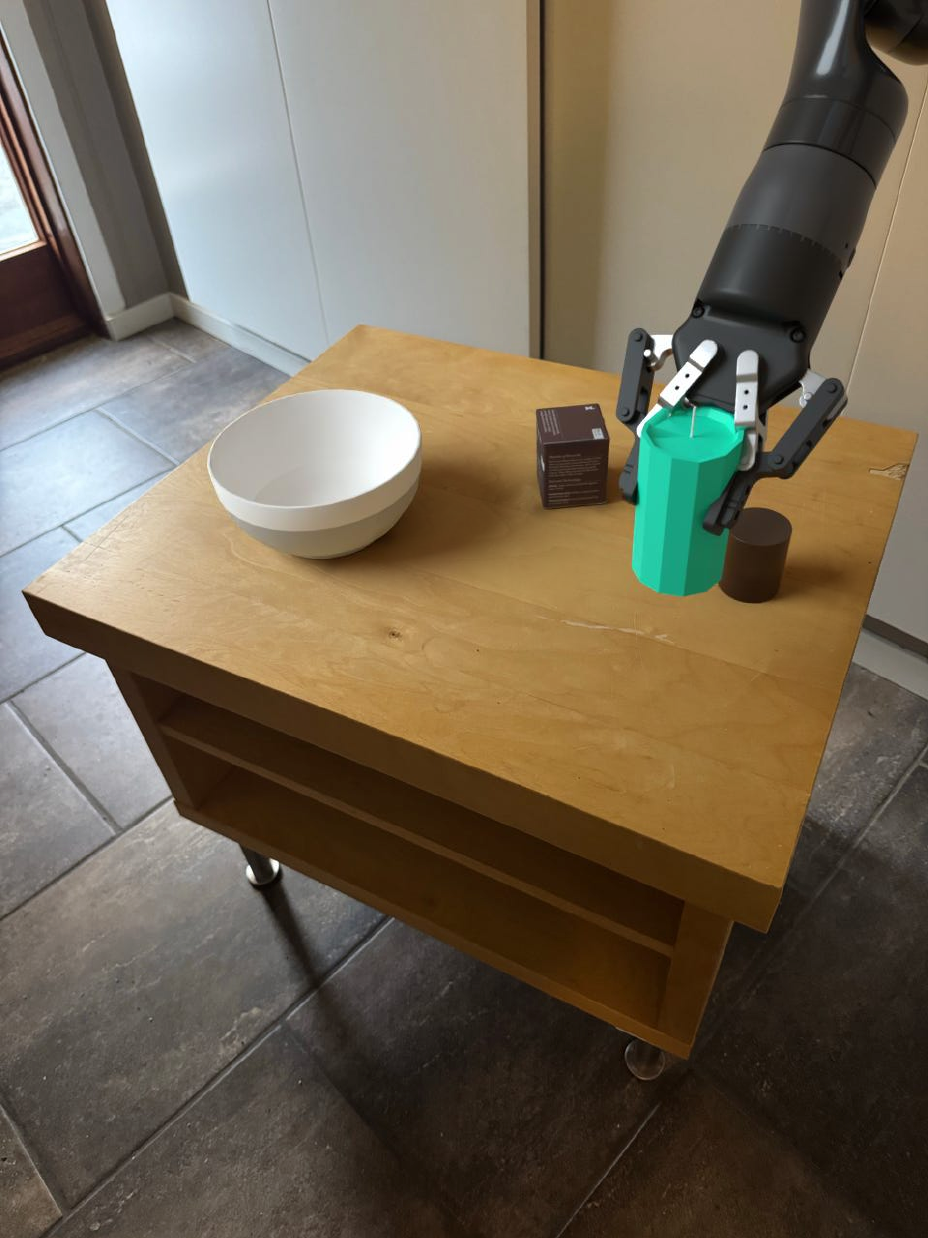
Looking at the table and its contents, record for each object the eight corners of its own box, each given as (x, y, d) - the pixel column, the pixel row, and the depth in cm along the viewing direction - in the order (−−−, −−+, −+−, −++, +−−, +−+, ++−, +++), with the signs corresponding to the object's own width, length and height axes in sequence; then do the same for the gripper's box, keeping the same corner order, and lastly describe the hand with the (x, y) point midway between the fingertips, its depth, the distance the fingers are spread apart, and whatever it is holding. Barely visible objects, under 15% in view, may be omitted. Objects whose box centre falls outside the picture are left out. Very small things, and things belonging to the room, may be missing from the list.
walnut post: (792, 582, 77) (805, 524, 73) (756, 611, 75) (768, 554, 71) (741, 555, 80) (751, 499, 76) (705, 584, 78) (713, 527, 74)
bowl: (386, 605, 79) (372, 523, 73) (192, 570, 84) (164, 491, 78) (457, 479, 91) (450, 400, 85) (286, 455, 97) (268, 379, 91)
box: (536, 473, 91) (534, 407, 86) (597, 468, 91) (599, 401, 86) (543, 510, 87) (542, 443, 82) (607, 504, 87) (610, 437, 82)
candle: (737, 553, 62) (764, 393, 54) (703, 607, 59) (726, 445, 50) (654, 528, 65) (667, 372, 57) (616, 578, 61) (624, 420, 53)
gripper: (657, 199, 56) (547, 468, 57) (902, 243, 49) (769, 547, 50) (691, 255, 62) (591, 494, 64) (911, 301, 55) (793, 567, 57)
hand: (670, 516), depth 57 cm, fingers closed on candle, 5 cm apart
